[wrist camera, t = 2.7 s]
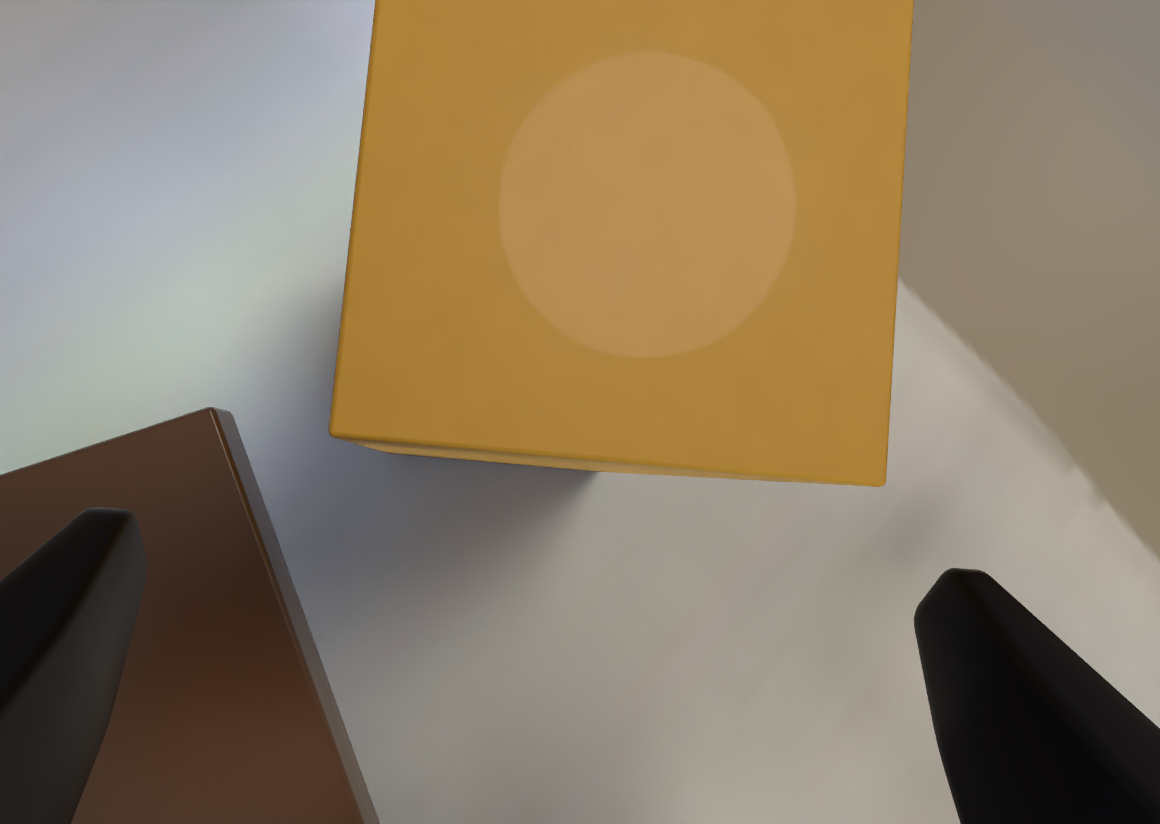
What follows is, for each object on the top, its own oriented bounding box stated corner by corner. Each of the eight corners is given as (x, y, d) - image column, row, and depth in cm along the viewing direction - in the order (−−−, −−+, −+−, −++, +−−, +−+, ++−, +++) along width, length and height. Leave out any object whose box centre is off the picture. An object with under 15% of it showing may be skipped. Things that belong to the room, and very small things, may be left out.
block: (600, 471, 20) (887, 487, 8) (385, 452, 19) (326, 436, 7) (616, 266, 20) (917, -31, 8) (408, 238, 19) (390, -144, 7)
